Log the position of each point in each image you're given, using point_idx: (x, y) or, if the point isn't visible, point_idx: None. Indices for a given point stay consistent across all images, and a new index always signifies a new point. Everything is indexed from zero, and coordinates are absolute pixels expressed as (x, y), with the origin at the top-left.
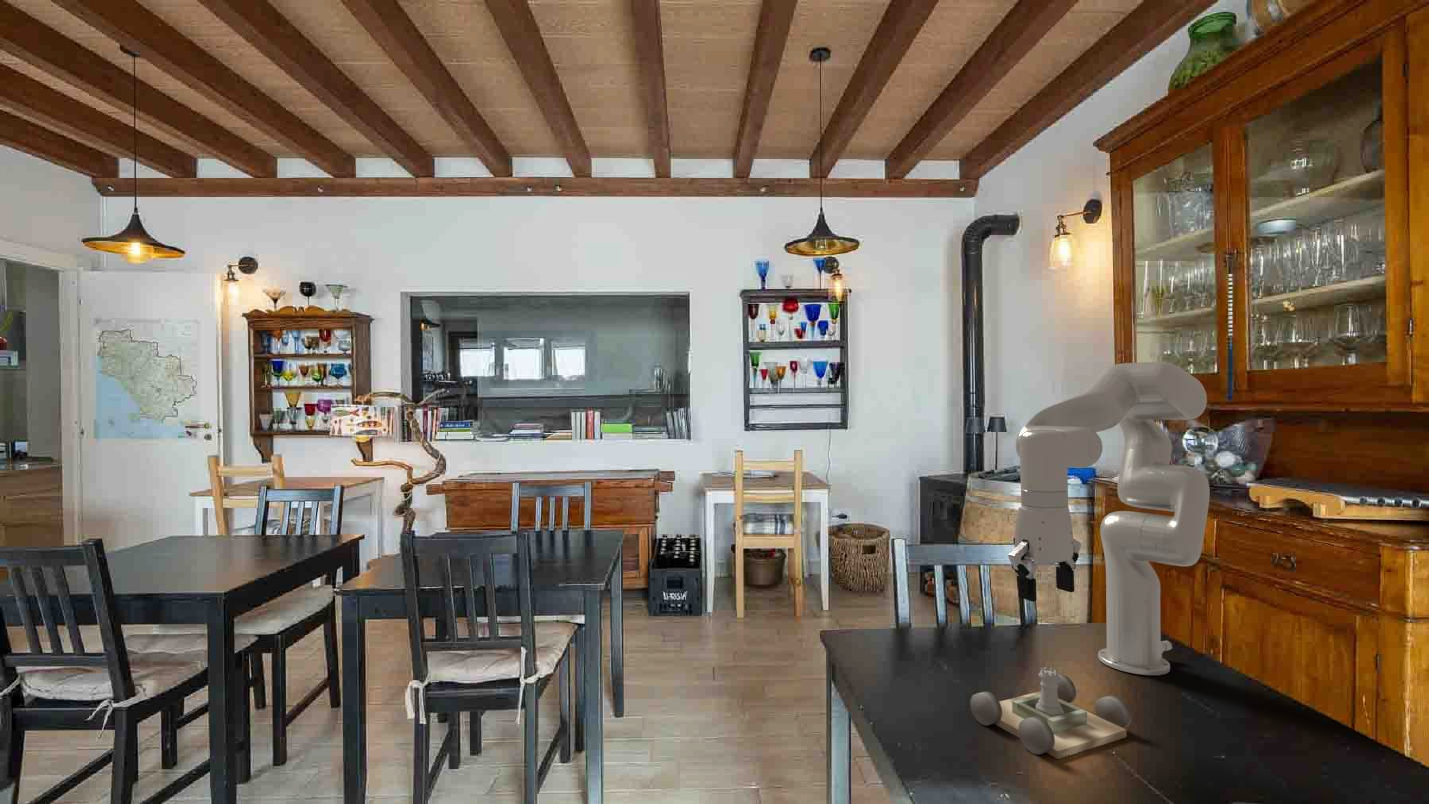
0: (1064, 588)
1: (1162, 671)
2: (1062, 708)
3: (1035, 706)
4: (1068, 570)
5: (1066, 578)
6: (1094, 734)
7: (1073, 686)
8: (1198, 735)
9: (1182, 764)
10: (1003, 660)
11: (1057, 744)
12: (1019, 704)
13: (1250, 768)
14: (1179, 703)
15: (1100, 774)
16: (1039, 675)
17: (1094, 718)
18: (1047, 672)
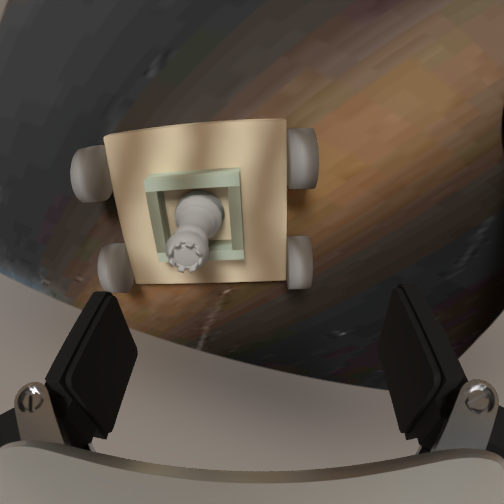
0: (386, 329)
1: None
2: (216, 231)
3: (182, 200)
4: (414, 426)
5: (399, 382)
6: (224, 273)
7: (311, 188)
8: (376, 299)
9: (280, 331)
10: None
11: (148, 273)
12: (146, 197)
13: (338, 352)
14: (456, 236)
15: (166, 313)
16: (167, 242)
17: (274, 240)
18: (172, 264)
